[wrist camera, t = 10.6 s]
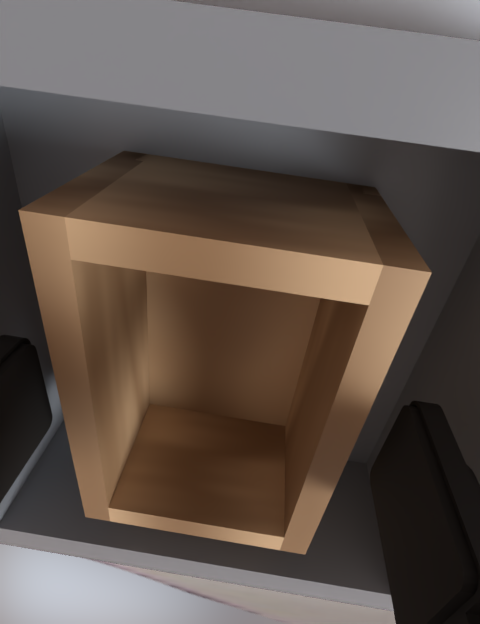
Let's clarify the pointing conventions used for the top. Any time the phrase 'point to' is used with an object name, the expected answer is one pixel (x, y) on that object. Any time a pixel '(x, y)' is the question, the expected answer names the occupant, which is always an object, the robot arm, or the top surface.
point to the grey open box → (258, 156)
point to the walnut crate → (217, 338)
